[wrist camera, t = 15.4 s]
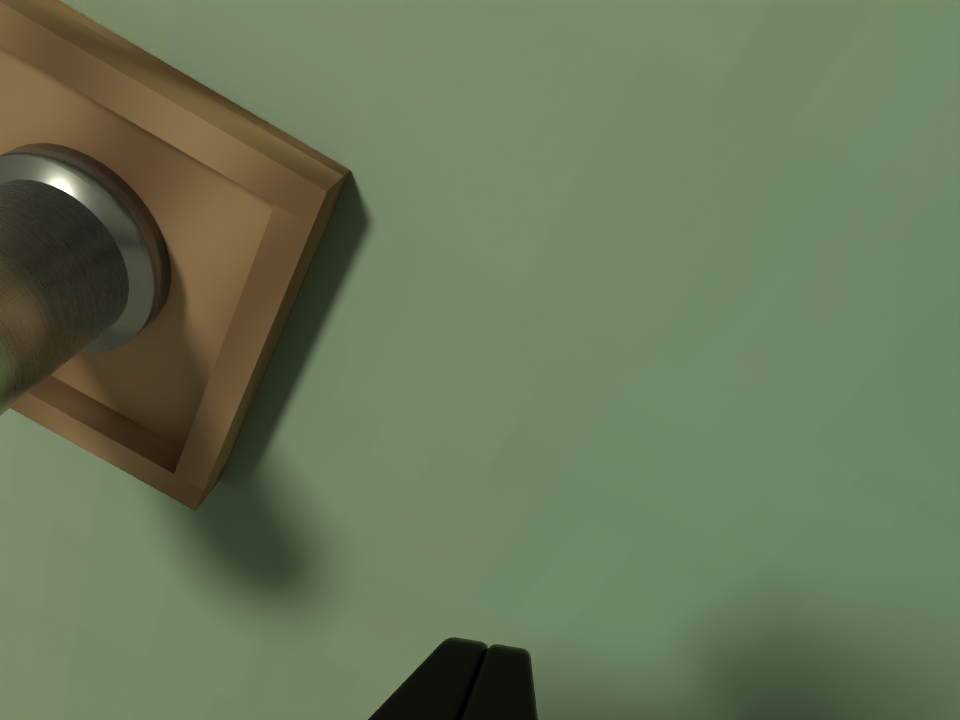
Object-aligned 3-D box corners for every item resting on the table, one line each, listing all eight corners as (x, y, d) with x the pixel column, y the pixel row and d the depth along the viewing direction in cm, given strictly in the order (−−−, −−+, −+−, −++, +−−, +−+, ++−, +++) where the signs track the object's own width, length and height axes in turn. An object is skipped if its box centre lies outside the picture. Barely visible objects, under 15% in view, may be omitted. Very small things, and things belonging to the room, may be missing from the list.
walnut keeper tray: (350, 170, 21) (326, 191, 20) (218, 481, 28) (195, 510, 26) (-104, -94, 20) (-156, -89, 19) (-123, 291, 27) (-162, 313, 26)
